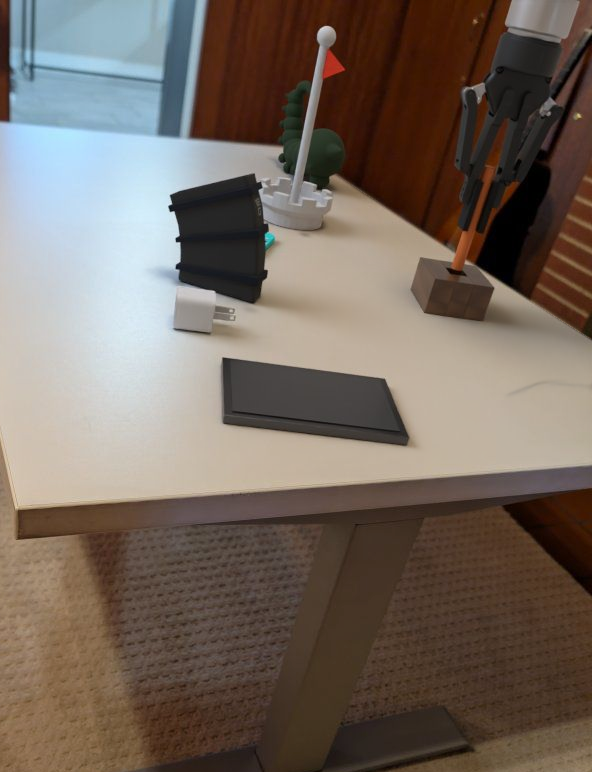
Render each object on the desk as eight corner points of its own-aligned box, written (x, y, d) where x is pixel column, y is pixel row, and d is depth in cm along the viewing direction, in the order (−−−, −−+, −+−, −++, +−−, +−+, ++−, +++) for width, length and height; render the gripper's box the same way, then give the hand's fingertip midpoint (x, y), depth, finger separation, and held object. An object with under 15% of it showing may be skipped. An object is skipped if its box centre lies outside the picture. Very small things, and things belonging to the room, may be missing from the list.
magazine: (277, 299, 94) (248, 176, 88) (186, 314, 100) (152, 199, 94) (287, 291, 97) (259, 171, 91) (198, 305, 103) (166, 193, 97)
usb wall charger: (173, 315, 89) (177, 283, 87) (231, 323, 90) (236, 292, 88) (172, 330, 86) (177, 297, 83) (233, 338, 87) (238, 305, 84)
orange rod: (460, 267, 106) (494, 166, 99) (463, 271, 105) (498, 169, 98) (449, 266, 106) (482, 164, 99) (452, 270, 105) (486, 167, 98)
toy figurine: (262, 169, 167) (312, 193, 147) (275, 75, 158) (330, 87, 138) (300, 172, 170) (354, 196, 151) (314, 80, 162) (374, 93, 142)
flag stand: (238, 209, 131) (269, 14, 115) (291, 205, 139) (327, 22, 124) (288, 234, 124) (329, 29, 108) (342, 229, 132) (387, 38, 116)
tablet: (383, 385, 83) (385, 377, 82) (407, 445, 73) (410, 436, 72) (220, 364, 80) (222, 355, 80) (222, 423, 70) (224, 414, 70)
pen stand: (465, 297, 113) (476, 265, 110) (482, 321, 105) (495, 287, 103) (410, 289, 111) (420, 256, 109) (424, 312, 104) (435, 278, 102)
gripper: (577, 44, 94) (511, 229, 107) (467, 21, 92) (412, 212, 105) (603, 51, 88) (530, 246, 100) (485, 26, 86) (425, 229, 98)
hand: (470, 228), depth 103 cm, fingers closed on orange rod, 1 cm apart
